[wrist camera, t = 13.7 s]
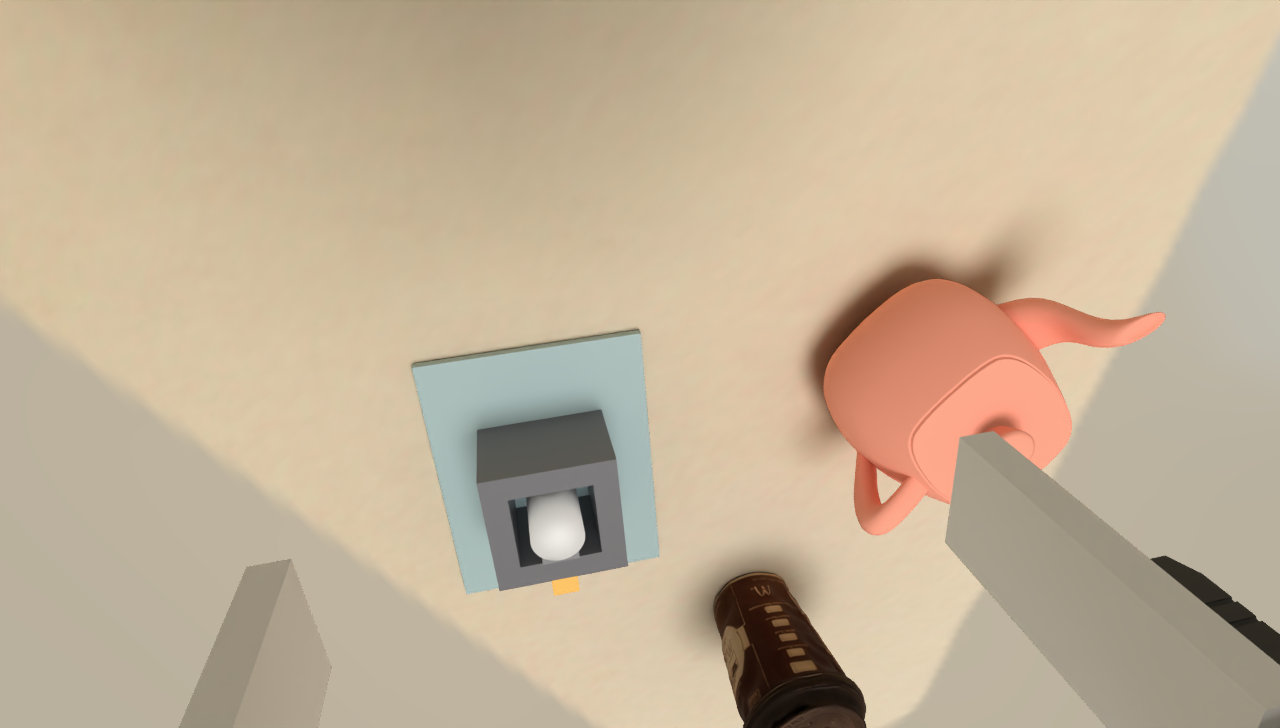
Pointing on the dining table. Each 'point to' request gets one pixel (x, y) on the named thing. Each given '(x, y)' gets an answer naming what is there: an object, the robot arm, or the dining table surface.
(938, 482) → the teapot
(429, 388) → the board
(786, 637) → the coffee cup
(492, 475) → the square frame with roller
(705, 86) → the dining table surface
